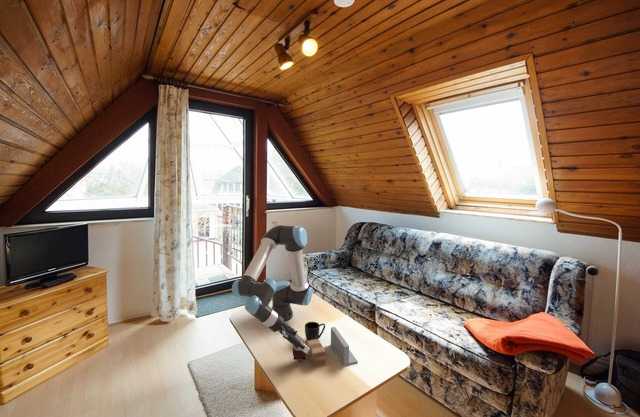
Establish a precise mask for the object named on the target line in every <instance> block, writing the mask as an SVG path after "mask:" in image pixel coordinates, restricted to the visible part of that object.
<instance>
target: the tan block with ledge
mask: <svg viewBox="0 0 640 417" xmlns="http://www.w3.org/2000/svg"><path fill="white" fill-rule="evenodd" d="M306 346H307V347H309V348H310V350H309V351H308V352H307V354H306V355H307V356H308V358H309V360H310V362H311V364H312V366H313V368H319V367H322V366H327V365H326V364H327V363H326V354H327V352H326V350H325V348H324V347H323V345H322V343H321V341H320V338H319V339H314V340H308V341H307V340H306Z"/></svg>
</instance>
